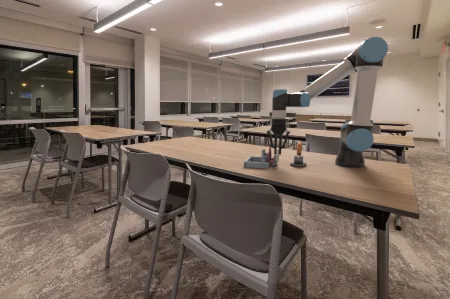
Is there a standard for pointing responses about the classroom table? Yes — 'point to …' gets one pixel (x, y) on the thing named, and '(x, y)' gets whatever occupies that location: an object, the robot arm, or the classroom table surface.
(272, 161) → the grey red spired block
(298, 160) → the crank
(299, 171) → the classroom table surface
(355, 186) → the classroom table surface
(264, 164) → the tray
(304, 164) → the crank base
